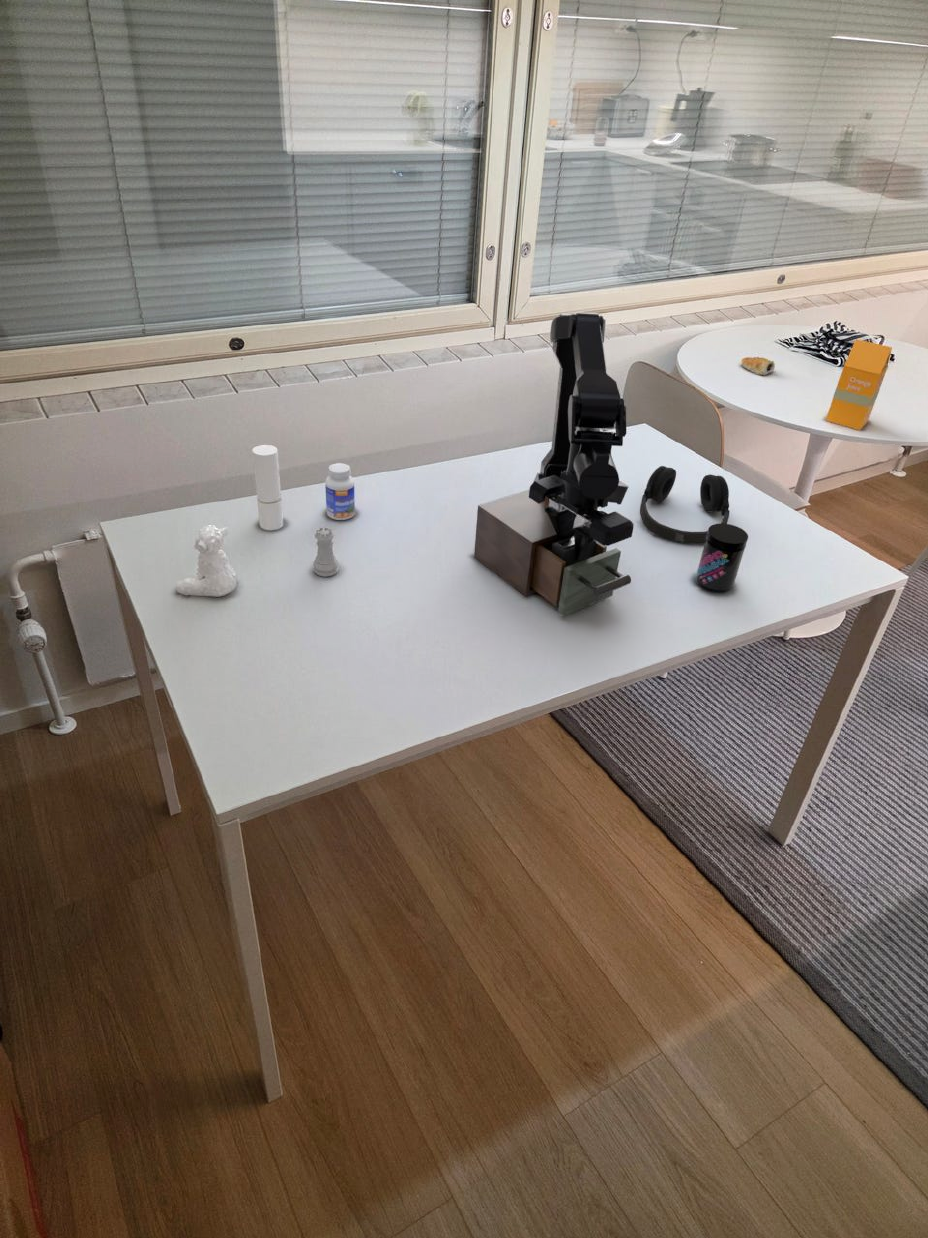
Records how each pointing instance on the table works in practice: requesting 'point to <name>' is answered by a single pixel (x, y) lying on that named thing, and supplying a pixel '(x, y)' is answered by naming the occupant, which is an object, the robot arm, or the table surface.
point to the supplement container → (721, 557)
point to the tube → (268, 487)
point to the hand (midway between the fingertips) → (572, 554)
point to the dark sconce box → (570, 551)
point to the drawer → (576, 577)
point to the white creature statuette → (210, 566)
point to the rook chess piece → (325, 554)
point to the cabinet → (513, 537)
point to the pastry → (758, 365)
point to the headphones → (711, 498)
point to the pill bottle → (340, 492)
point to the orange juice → (859, 384)
